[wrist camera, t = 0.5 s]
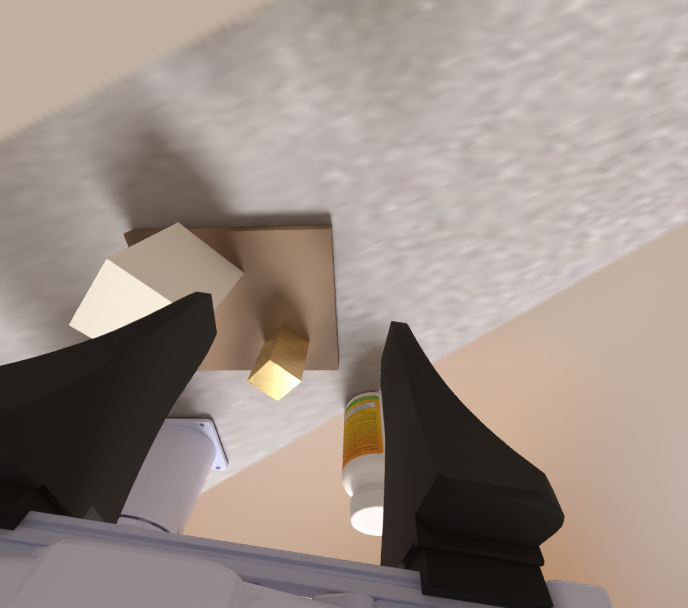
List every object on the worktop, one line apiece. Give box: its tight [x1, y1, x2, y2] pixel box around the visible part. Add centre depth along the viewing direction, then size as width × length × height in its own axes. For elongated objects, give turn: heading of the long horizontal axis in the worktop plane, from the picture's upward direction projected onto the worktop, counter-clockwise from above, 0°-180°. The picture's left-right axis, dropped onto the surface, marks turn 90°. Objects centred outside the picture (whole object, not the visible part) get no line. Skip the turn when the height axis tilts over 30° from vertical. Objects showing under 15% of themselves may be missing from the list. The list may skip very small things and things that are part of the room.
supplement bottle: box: [342, 392, 385, 536], centre depth 25 cm, size 5×5×10 cm
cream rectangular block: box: [69, 223, 244, 339], centre depth 19 cm, size 5×5×7 cm
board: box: [124, 225, 339, 370], centre depth 24 cm, size 14×12×1 cm
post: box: [247, 322, 310, 401], centre depth 23 cm, size 3×3×4 cm
